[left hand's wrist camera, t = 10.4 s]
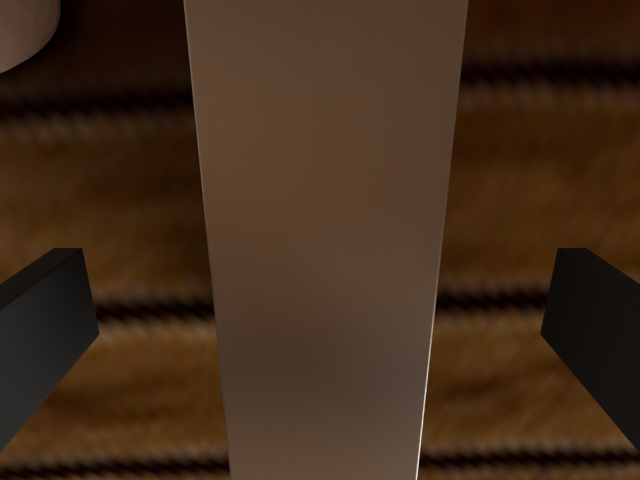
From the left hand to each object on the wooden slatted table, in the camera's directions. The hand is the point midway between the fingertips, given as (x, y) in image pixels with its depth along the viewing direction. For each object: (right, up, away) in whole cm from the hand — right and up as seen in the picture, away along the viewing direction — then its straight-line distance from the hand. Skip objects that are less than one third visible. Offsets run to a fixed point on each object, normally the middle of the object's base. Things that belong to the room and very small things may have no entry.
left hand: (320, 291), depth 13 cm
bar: (0, +27, -5) cm, 28 cm away
